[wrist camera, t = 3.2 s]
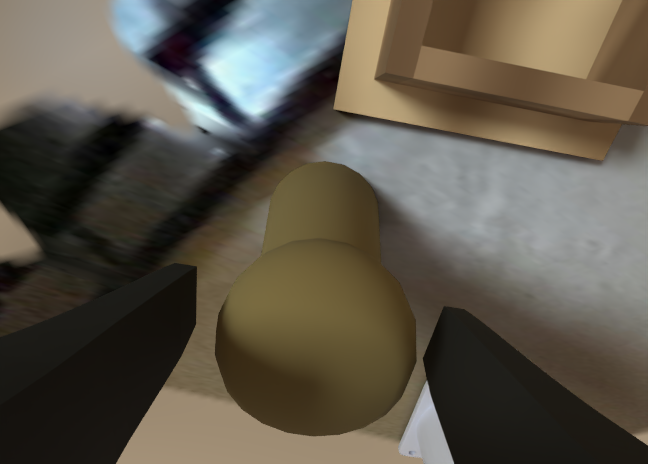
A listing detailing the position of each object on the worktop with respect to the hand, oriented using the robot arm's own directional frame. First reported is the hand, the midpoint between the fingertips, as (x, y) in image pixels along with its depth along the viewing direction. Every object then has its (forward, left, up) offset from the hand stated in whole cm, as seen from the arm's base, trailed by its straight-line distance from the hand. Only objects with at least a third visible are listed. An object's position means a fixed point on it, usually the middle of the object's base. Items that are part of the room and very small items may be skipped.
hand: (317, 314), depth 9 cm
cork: (0, 0, -9) cm, 9 cm away
